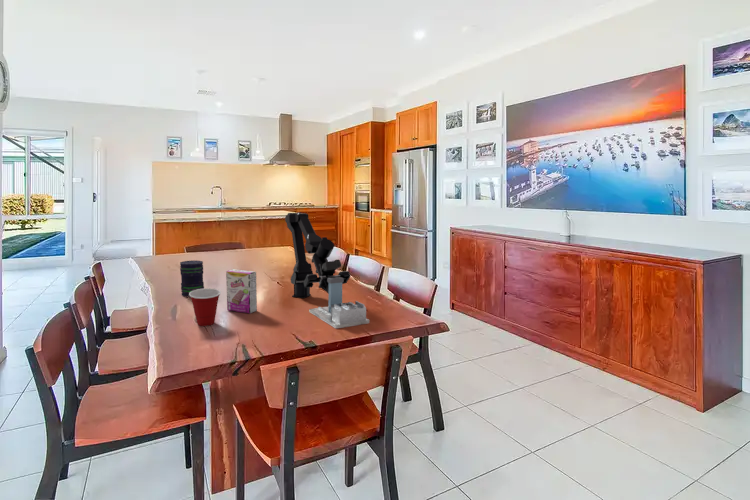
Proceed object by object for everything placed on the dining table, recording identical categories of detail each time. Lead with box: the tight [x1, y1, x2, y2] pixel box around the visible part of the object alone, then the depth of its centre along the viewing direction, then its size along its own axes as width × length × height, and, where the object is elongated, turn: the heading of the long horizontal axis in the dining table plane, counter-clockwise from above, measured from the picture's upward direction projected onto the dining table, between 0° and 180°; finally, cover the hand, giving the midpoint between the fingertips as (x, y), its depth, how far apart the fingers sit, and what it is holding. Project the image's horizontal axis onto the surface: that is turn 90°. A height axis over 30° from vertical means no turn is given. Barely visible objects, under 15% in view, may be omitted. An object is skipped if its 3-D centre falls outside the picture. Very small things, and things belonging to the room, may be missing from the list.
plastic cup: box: [189, 287, 222, 327], centre depth 158 cm, size 11×11×12 cm
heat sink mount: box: [308, 300, 370, 329], centre depth 169 cm, size 24×14×7 cm, turn 32°
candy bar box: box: [225, 268, 258, 314], centre depth 175 cm, size 11×5×16 cm, turn 71°
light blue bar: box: [327, 277, 344, 312], centre depth 169 cm, size 8×6×14 cm
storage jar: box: [179, 260, 205, 298], centre depth 201 cm, size 10×10×15 cm
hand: (333, 296), depth 172 cm, fingers closed, pressing on light blue bar
